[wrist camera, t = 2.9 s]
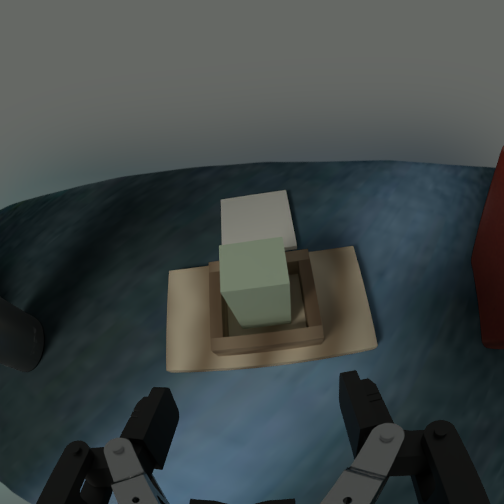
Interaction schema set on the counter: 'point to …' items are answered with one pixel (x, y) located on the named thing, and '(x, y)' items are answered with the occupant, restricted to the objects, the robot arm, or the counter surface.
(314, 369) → the counter surface
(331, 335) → the puzzle board
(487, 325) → the plant pot
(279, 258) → the sage block
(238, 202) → the white tile
